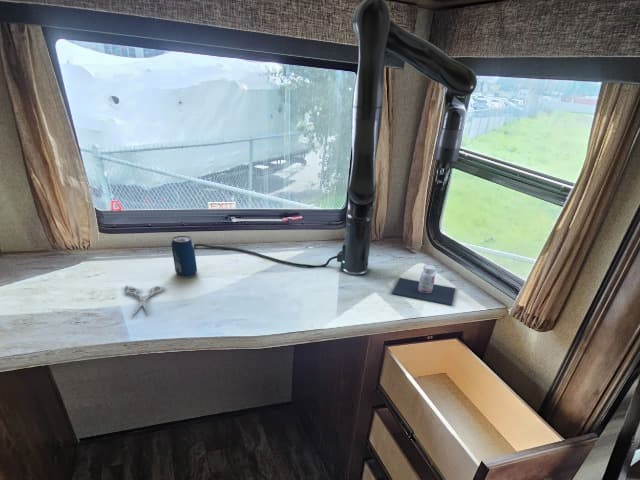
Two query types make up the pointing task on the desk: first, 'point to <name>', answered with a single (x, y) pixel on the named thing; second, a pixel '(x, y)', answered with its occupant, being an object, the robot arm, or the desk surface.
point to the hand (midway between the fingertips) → (437, 198)
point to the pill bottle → (427, 279)
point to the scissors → (142, 299)
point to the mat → (437, 295)
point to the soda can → (184, 256)
